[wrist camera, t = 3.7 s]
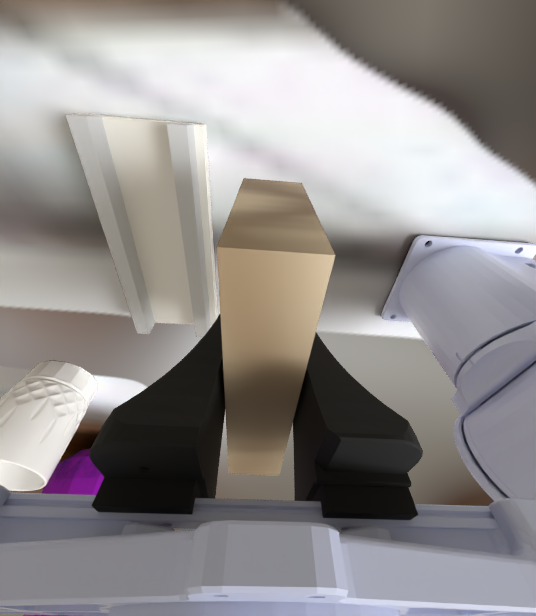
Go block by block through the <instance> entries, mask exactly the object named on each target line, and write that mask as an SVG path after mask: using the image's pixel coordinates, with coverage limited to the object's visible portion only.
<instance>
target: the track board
mask: <svg viewBox="0 0 536 616" xmlns="http://www.w3.org/2000/svg"><path fill="white" fill-rule="evenodd" d="M65 116H66V119H67V122H68V125H69V128H70V131H71V134H72V137H73V140H74V143H75V146H76V149H77V152H78V155H79V158H80V161H81V164H82V167H83V170H84V173H85V176H86V179H87V182H88V185H89V188H90V191H91V195H92V198H93V201H94V204H95V207H96V210H97V213H98V216H99V219H100V222H101V225H102V228H103V231H104V234H105V237H106V240H107V243H108V246H109V249H110V252H111V255H112V258H113V261H114V264H115V267H116V270H117V273H118V276H119V279H120V282H121V286H122V289H123V292H124V295H125V298H126V301H127V304H128V307H129V310H130V313H131V316H132V319H133V321H134V325H135V328H136V331H137V333H138V334H150V332H151V330H152V328H153V326H154V324H155V323H169V324H186V325H195V333H196V337H204V335H205V334H206V333H207V332H208V330H209V329H210V327H211V326H212V325H213V324H214V322H215V321H216V319H217V318H218V310H217V294H216V277H215V261H214V245H213V228H212V212H211V196H210V179H209V163H208V146H207V130H206V124H195V123H184V122H173V121H162V120H151V119H139V118H128V117H117V116H106V115H95V114H71V115H65Z"/></svg>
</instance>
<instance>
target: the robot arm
mask: <svg viewBox="0 0 536 616" xmlns="http://www.w3.org/2000/svg"><path fill="white" fill-rule="evenodd" d="M427 241H430V242H429V243H428V244H427V245H425V243H426V242H427ZM516 249H517V250H516ZM535 254H536V244H533V243H521V242H507V241H494V240H480V239H467V238H453V237H440V236H426V235H420V236H418V237H416V238H415V239H414V241H413V243H412V245H411V248H410V250H409V252H408V254H407V257H406V259H405V261H404V263H403V266H402V268H401V270H400V272H399V275H398V277H397V279H396V281H395V284H394V286H393V288H392V290H391V293H390V295H389V297H388V299H387V302H386V304H385V306H384V308H383V311H382V313H381V317H382V319H383V320H388V321H405V322H412V324H413V325H414V327H415V328H416V330H417V331H418V333H419V334H420V336H421V337H422V339H423V340H424V341H425V343H426V344H427V346H428V347H429V349H430V350H431V352H432V353H433V355H434V356H435V358H436V359H437V361H438V362H439V363H440V365H441V366H442V368H443V369H444V371H445V372H446V374H447V375H448V377H449V378H450V380H451V381H452V383H453V384H454V385H455V387H456V388H457V391H456V393H455V395H454V396H453V397H452V398H451V400H452V401H453V403H454V404H455V406H456V407H457V409H458V411H459V412H460V414H461V416H460V417H459V418H457V420H456V422H455V425H454V439H455V443H456V446H457V449H458V451H459V454H460V456H461V458H462V460H463V461H464V463H465V465H466V467H467V468H468V470H469V471H470V473H471V474H472V476H473V477H474V479H475V480H476V481H477V482H478V483H479V485H480V486H481V487H482V488H483V489H484V491H486V493H487V494H488V495H489V496H490V497H491V498H492V499H493V500H494V501H495V502H493V503H492V504H490V506H458V505H422V504H414V501H413V499H412V496H411V493H410V491H409V488H408V487H410V486H411V481H410V479H409V476H408V473H407V472H409V470H411V469H412V468H413V467H414V466H415V465H416V464H417V463H418V461H419V460H420V459H421V457H422V453H423V450H422V448H421V446H420V444H419V442H418V439H417V437H416V435H415V433H414V431H413V429H412V428H411V426H410V424H409V422H408V421H407V420H406V419H404V418H403V417H402V416H400V415H399V414H397V413H396V412H394V411H393V410H392V409H390V408H389V407H387V406H386V405H384V404H383V403H382V402H381V401H379V400H378V399H377V398H376V397H374V396H373V395H372V394H370V392H368V391H367V390H366V389H365V388H364V387H363V386H362V385H361V384H359V383H358V382H357V381H356V380H355V379H354V378H353V377H352V376H351V375H350V374H349V373H348V372H347V371H346V370H345V369H344V368H343V367H342V366H341V365H340V364H339V362H338V361H337V360H336V359H335V358H334V356H333V355H332V354H331V353H330V352H329V350H328V349H327V347H326V346H325V345H324V343H323V342H322V340H321V339H320V337H319V336H318V335H317V333H315V337H314V341H313V345H312V349H311V353H310V357H309V360H308V364H307V368H306V372H305V376H304V380H303V384H302V388H301V392H300V396H299V400H298V403H297V407H296V411H295V415H294V419H293V437H294V476H295V477H294V479H295V501H283V500H280V501H279V500H247V499H215V495H216V484H217V475H218V466H219V457H220V448H221V440H222V432H223V423H224V415H225V390H224V371H223V352H222V334H221V315H219V316H218V318H217V319H216V321H215V322H214V324H213V325H212V326H211V328H210V329H209V330H208V332H207V333H206V334H205V335H204V337H203V338H202V339H201V340H200V341H199V342H198V344H197V345H196V346H195V347H194V348H193V349H192V350H191V351H190V352H189V353H188V354H187V355H186V356H185V357H184V358H183V359H182V361H180V362H179V363H178V364H177V365H176V366H175V367H173V368H172V369H171V370H170V371H169V372H168V373H166V374H165V375H164V376H163V377H162V378H160V379H159V380H157V381H156V382H155V383H153V384H152V385H150V386H149V387H148V388H146V389H145V390H144V391H142V392H141V393H139V394H138V395H136V396H134V397H133V398H131V399H130V400H128V401H126V402H125V403H123V404H122V405H120V406H118V407H117V408H115V409H114V410H113V411H112V413H111V414H110V416H109V417H108V419H107V420H106V422H105V423H104V425H103V426H102V428H101V430H100V432H99V434H98V436H97V437H96V439H95V441H94V443H93V445H92V447H91V449H90V451H89V457H90V459H91V461H92V463H93V464H94V465H95V466H96V468H97V469H98V470H99V471H100V472H101V474H102V475H103V476H104V479H103V481H102V483H101V486H100V488H99V490H98V492H97V495H73V494H38V493H10V491H9V490H8V489H7V488H5V487H4V486H2V485H0V614H27V615H68V616H536V261H535V260H533V259H532V258H533V257H534V256H535ZM391 315H393V316H391ZM174 528H177V529H178V528H179V529H195V530H182V531H175V530H174ZM339 532H340V534H339Z"/></svg>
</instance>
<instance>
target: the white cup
mask: <svg viewBox="0 0 536 616" xmlns="http://www.w3.org/2000/svg"><path fill="white" fill-rule="evenodd" d="M97 386H98V383H97V381H96V380H95V378H94V377H93V376H92V375H91V374H90V373H89V372H87V371H86V370H84V369H83V368H81V367H78V366H76V365H73V364H71V363H68V362H62V361H54V360H50V361H45V362H40V363H39V364H38V365H37V366H36V367H35V368H34V369H32V370H31V371H30V372H29V374H28V375H27V376H26V377H25V378H23V379H22V380H21V381H20V382H19V383H17V384H15V385H14V386H13V387H12V388H11V389H10V390H9V391H8V392H7V393H6V394H5V395H3V396H2V397H1V398H0V485H2V486H4V487H5V488H7V489H8V490H11V491H12V490H13V491H31V490H37V489H41V488H43V487H45V486H46V485H47V483H48V481H49V479H50V477H51V475H52V474H53V472H54V470H55V468H56V466H57V465H58V463H59V461H60V459H61V457H62V455H63V454H64V452H65V450H66V448H67V446H68V445H69V443H70V441H71V439H72V437H73V436H74V434H75V432H76V430H77V428H78V426H79V424H80V422H81V420H82V419H83V417H84V415H85V413H86V410H87V407H88V406H89V404H90V402H91V400H92V399H93V397H94V395H95V393H96V392H97Z"/></svg>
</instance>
